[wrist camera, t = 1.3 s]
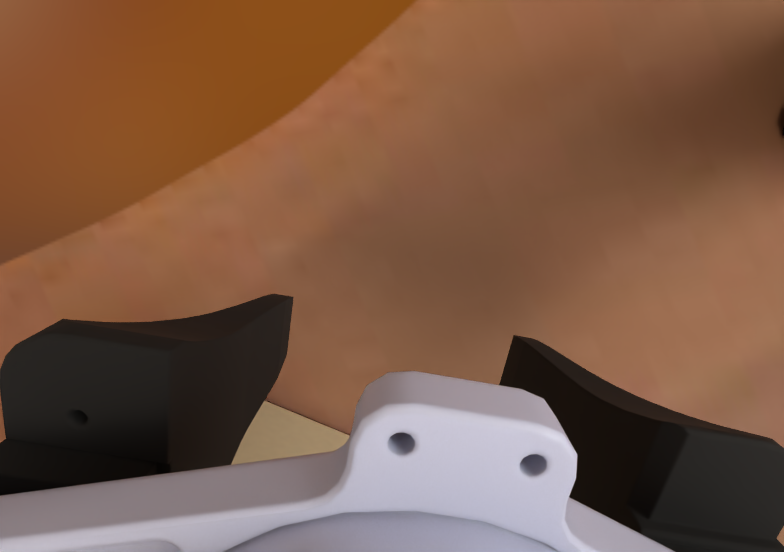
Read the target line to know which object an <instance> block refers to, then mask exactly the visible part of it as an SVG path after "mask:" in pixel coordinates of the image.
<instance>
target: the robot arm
mask: <svg viewBox="0 0 784 552" xmlns="http://www.w3.org/2000/svg"><path fill="white" fill-rule="evenodd" d="M292 305H293V297H290V296H284V295H278V294H270V295H266V296H263V297H260V298H257V299H254V300H251V301H249V302H246V303H243V304H240V305H237V306H234V307H230V308H227V309H223V310H220V311H216V312H213V313H209V314H204V315H200V316H194V317H189V318H183V319H174V320H164V321H154V322H95V321H80V320H67V319H62V320H60V321H58V322H57V323H55V324H53V325H51V326H49V327H47V328H45V329H44V330H42V331H40V332H38V333H36V334H34V335H33V336H31V337H29V338H27V339H25V340H23V341H22V342H20V343H18V344H16V345H15V346H14V347H13V348H12V349H11V351H10V352H9V353H8V354H7V355H6V356H5V359H4V361H3V364H2V366H1V369H0V392H1V401H2V410H3V418H4V427H5V435H6V438H7V439H5V440H4V441H3V442H1V443H0V552H784V546H783V545H782V544H781V543H780V542H779V541H778V540H777V539H776V538H777V536H778V534H779V533H780V531H781V529H782V528H783V526H784V448H783V447H782V446H780V445H779V444H778V443H777V442H775V441H774V440H773V439H770V438H767V437H763V436H759V435H755V434H751V433H747V432H743V431H739V430H735V429H731V428H727V427H723V426H719V425H716V424H712V423H709V422H706V421H703V420H700V419H696V418H693V417H690V416H687V415H684V414H681V413H678V412H675V411H672V410H670V409H667V408H665V407H662V406H660V405H657V404H654V403H652V402H649V401H647V400H645V399H642V398H640V397H638V396H635V395H633V394H631V393H629V392H627V391H625V390H623V389H621V388H619V387H616V386H615V385H613V384H611V383H609V382H607V381H605V380H603V379H601V378H600V377H598V376H596V375H594V374H593V373H591V372H589V371H587V370H586V369H584V368H582V367H581V366H579V365H578V364H576V363H574V362H573V361H571V360H569V359H568V358H566V357H565V356H563V355H562V354H560V353H558V352H557V351H555V350H554V349H552V348H550V347H549V346H547V345H545V344H543V343H541V342H539V341H537V340H535V339H532V338H526V337H521V336H515V335H514V336H513V340H512V343H511V347H510V350H509V353H508V357H507V360H506V364H505V367H504V371H503V374H502V377H501V381H500V384H499V385H495V384H489V383H483V382H477V381H471V380H465V379H459V378H453V377H448V376H442V375H436V374H430V373H424V372H418V371H403V372H388V373H386V374H385V375H383V376H381V377H380V378H378V379H376V380H375V381H373V382H371V383H370V384H368V385H367V386H366V388H365V390H364V392H363V394H362V395H361V397H360V399H359V401H358V403H357V405H356V410H355V416H354V422H353V427H352V431H351V434H350V437H349V439H348V440H347V442H346V443H345V444H344V445H343V446H342V447H340V448H339V449H337V450H335V451H331V452H324V453H316V454H309V455H301V456H294V457H286V458H279V459H271V460H264V461H256V462H249V463H241V464H234V465H231V463H232V461H233V459H234V457H235V454H236V452H237V450H238V448H239V445H240V443H241V441H242V439H243V437H244V435H245V433H246V431H247V429H248V427H249V426H250V424H251V422H252V421H253V419H254V417H255V416H256V414H257V412H258V410H259V409H260V407H261V405H262V404H263V402H264V400H265V399H266V397H267V395H268V394H269V392H270V390H271V388H272V387H273V385H274V383H275V381H276V380H277V378H278V375H279V373H280V370H281V368H282V365H283V363H284V360H285V358H286V355H287V348H288V340H289V331H290V322H291V314H292Z"/></svg>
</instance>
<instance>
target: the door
mask: <svg viewBox="0 0 784 552" xmlns="http://www.w3.org/2000/svg"><path fill="white" fill-rule="evenodd" d="M349 437H350V436H349V435H347V434H344V433H342V432H340V431H337V430H335V429H332V428H330V427H327V426H325V425H323V424H320V423H318V422H315V421H313V420H310V419H308V418H306V417H303V416H301V415H298V414H296V413H293V412H291V411H289V410H286V409H284V408H281V407H279V406H277V405H274V404H272V403H269V402H267V401H264V402H263V404H262V405H261V407H260V409H259V410H258V412H257V414H256V416H255V417H254V419H253V421H252V422H251V424H250V426H249V427H248V429H247V431H246V433H245V435H244V437H243V439H242V441H241V443H240V445H239V448H238V450H237V452H236V454H235V457H234V459H233V461H232V463H231V465H234V464H241V463H249V462H256V461H264V460H271V459H279V458H286V457H294V456H301V455H309V454H316V453H324V452H331V451H335V450H337V449H339V448H340V447H342V446H343V445H344V444H345V443H346V442H347V440H348V439H349Z"/></svg>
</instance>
